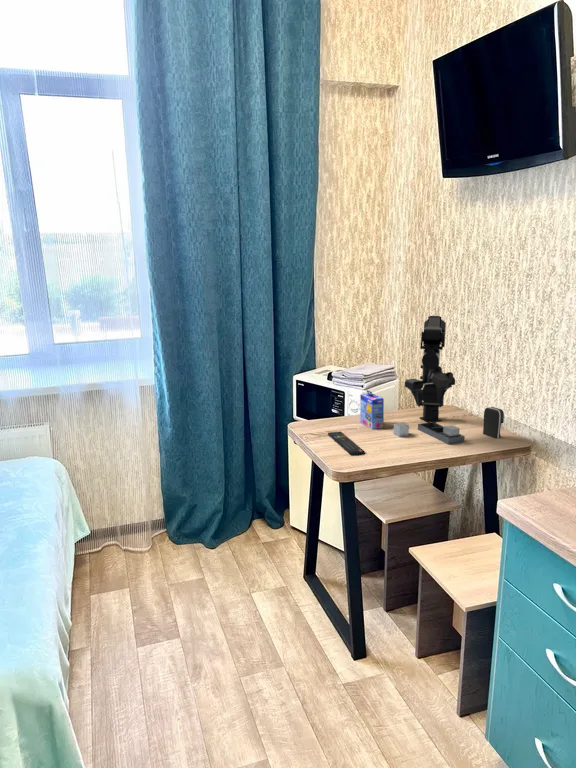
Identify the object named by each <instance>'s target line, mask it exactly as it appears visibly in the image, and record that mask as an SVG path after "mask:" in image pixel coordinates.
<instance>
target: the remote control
mask: <svg viewBox="0 0 576 768" xmlns="http://www.w3.org/2000/svg"><path fill="white" fill-rule="evenodd" d="M327 436H329V438H331V439H332V440H333V441H334V442H336V443H337V444H338V445H339V446H340V447H341V448H342V449H343V450H344V451H345V452H347V453H348V454H349V455H350V456H354V457H355V456H361V455H362V456H363V455H365V454H366V451H365V450H364V449H363V448H361V447H360V446H359V445H358V444H356V443H355V442H354V441H353V440H352V439H351V438H349V437H348V436H347V435H346V434H345V433H343V432H342V431H333V432H331V431H330V432H327Z"/></svg>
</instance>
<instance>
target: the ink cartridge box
mask: <svg viewBox="0 0 576 768" xmlns="http://www.w3.org/2000/svg"><path fill="white" fill-rule="evenodd" d="M359 397H360V401H359V402H360V405H359V407H360V409H359V410H360V414H359V415H360V416H359V417H360V418H359V419H360V421H359V423H360V424H361V425H364V426H366V427H367V428H368V429H371V430H376V429H377V430H378V429H383V428H384V420H385V419H384V417H385V416H384V415H385V414H384V411H385V410H384V406H385V405H384V402H385V401H384V400H385V399H384V398H383V397H382V396H379V395H376V394H374V393H373V392H372V391H370V390H368V389H366V393H362V394H360V395H359Z"/></svg>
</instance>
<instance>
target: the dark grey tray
mask: <svg viewBox="0 0 576 768" xmlns="http://www.w3.org/2000/svg"><path fill="white" fill-rule="evenodd" d="M443 427H444V426H443V425H441V424H439V423H437V422H436V421H434V422H424V423H418V424H417V430H418V431H420V432H421V433H424V434H426V435H428V436H430V437H432V438H434V439H436V440H438V441H441V442H442V443H444V444H446V445H448V446H449V445H455V444H456V445H457V444H461V443H465V437H466V436H465V435H463V434H461V433H459V437H453V438H448V437H446V436H444V435H443Z"/></svg>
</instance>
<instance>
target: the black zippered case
mask: <svg viewBox="0 0 576 768" xmlns="http://www.w3.org/2000/svg"><path fill="white" fill-rule="evenodd" d="M504 419H505V412H504V410H503V409H502V408H498V407H494V406H488V407H486V408H484V412H483V428H482V434H483V435H485V436H487V437H491V438H493V439H500V438H501V437H502V436H501V426H502V424H504V421H505V420H504Z"/></svg>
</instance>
